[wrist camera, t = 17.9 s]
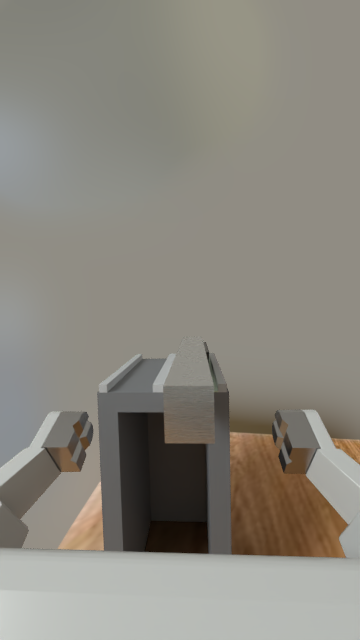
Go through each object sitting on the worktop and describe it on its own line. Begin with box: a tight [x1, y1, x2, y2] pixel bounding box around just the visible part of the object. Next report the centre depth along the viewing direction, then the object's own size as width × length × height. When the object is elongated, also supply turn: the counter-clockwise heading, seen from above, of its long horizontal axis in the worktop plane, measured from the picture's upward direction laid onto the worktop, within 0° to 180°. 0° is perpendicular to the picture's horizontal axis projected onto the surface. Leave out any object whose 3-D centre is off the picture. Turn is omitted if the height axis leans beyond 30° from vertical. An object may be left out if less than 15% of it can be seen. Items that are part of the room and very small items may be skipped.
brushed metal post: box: [163, 337, 215, 444], centre depth 26 cm, size 24×4×4 cm, turn 176°
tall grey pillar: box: [97, 353, 232, 555], centre depth 32 cm, size 16×13×27 cm
